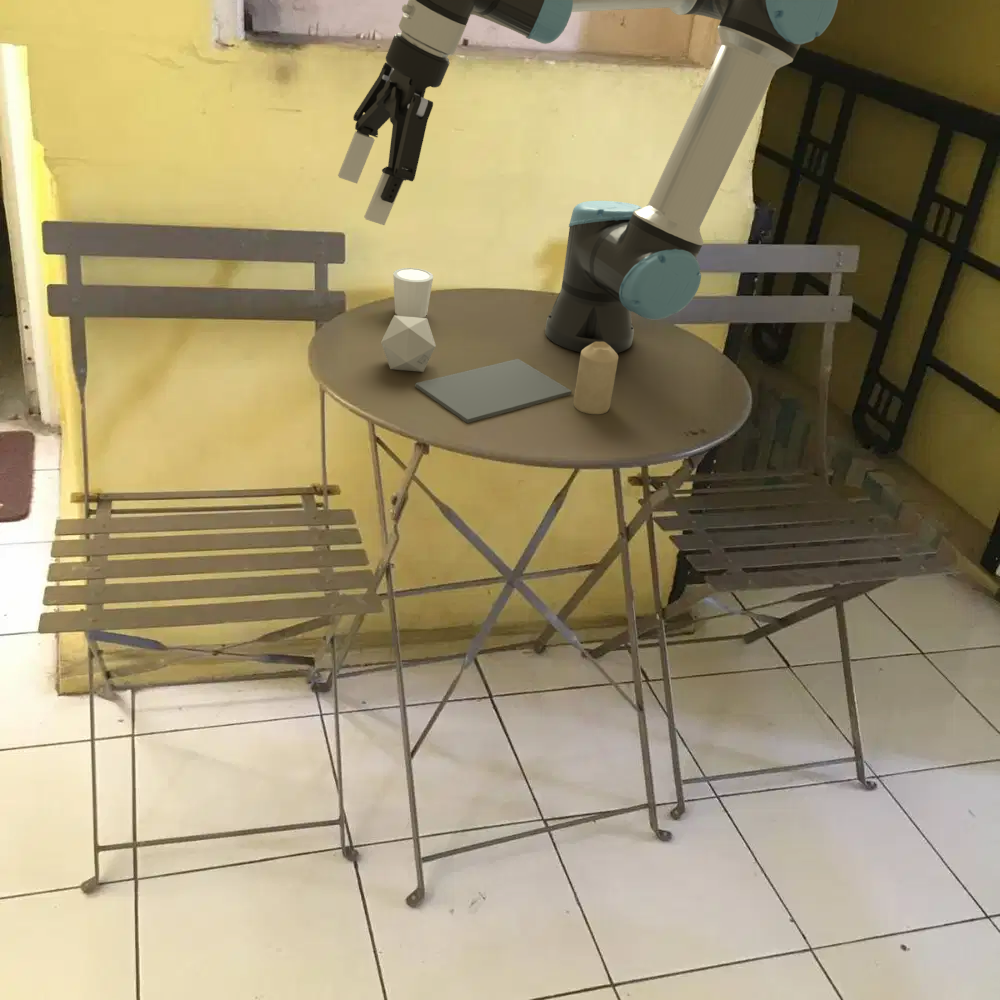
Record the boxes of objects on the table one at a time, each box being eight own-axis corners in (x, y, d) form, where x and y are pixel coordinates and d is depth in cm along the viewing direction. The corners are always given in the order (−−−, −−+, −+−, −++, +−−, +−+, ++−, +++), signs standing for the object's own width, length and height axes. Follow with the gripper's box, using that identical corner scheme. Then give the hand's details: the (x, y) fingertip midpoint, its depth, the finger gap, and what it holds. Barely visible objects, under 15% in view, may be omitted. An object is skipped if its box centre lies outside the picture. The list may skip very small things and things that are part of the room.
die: (412, 388, 154) (449, 336, 152) (365, 353, 152) (403, 301, 151) (414, 383, 162) (449, 334, 160) (369, 351, 160) (405, 301, 159)
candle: (610, 416, 151) (621, 354, 145) (573, 413, 151) (583, 350, 145) (607, 400, 155) (618, 339, 150) (572, 396, 155) (581, 335, 150)
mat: (517, 362, 164) (518, 358, 164) (571, 394, 156) (571, 390, 155) (415, 386, 153) (415, 383, 152) (467, 423, 144) (467, 419, 144)
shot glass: (415, 323, 173) (417, 284, 170) (383, 312, 176) (385, 273, 172) (438, 313, 178) (441, 274, 175) (407, 302, 181) (409, 264, 177)
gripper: (370, 4, 133) (312, 155, 143) (429, 64, 116) (359, 231, 125) (419, 27, 137) (361, 172, 147) (484, 88, 120) (412, 248, 130)
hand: (360, 199), depth 136 cm, fingers open, 13 cm apart
